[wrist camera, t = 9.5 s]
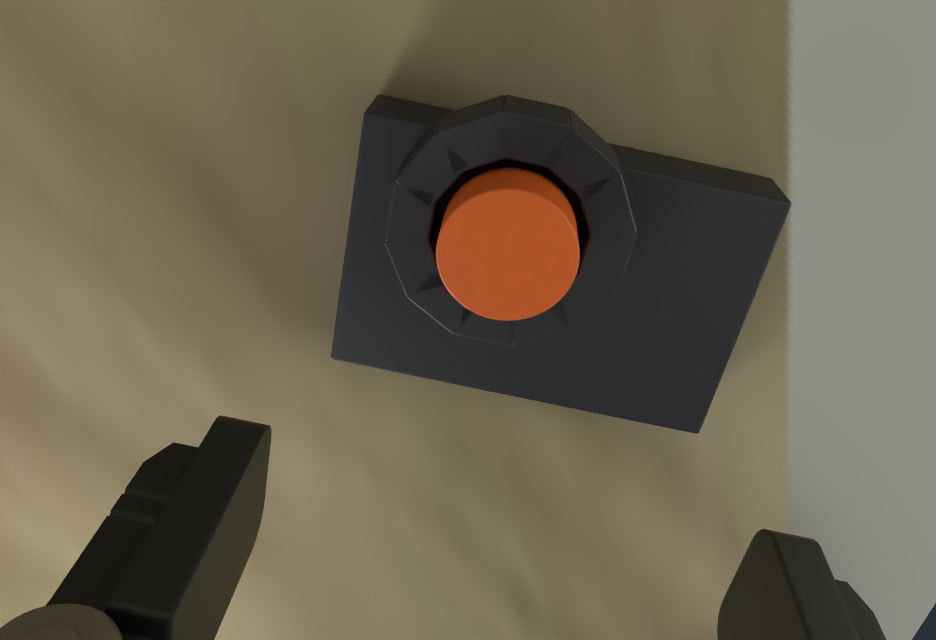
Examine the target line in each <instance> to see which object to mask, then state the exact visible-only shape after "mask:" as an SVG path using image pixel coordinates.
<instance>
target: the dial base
mask: <svg viewBox="0 0 936 640" xmlns="http://www.w3.org/2000/svg"><path fill="white" fill-rule="evenodd" d="M912 640H936V604H935V605H934V607H933V608H932V610H931V612H930V613H929V614H928V616H927V618H926V619H925V621H924V622H923V624H922V625H921V627H920V628H919V630H918V631H917V633H916V634H915V636H914V638H913V639H912Z"/></svg>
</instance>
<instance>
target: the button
mask: <svg viewBox="0 0 936 640" xmlns="http://www.w3.org/2000/svg"><path fill="white" fill-rule="evenodd" d="M579 259H580V250H579V240H578V232H577V224H576V219H575V214H574V211H573V209H572V206H571V204H570V202H569V201H568V199H567V197H566V196H565V195H564V193H563V192H562V191H561V190H560V189H559V188H558V187H557V186H556V185H555V184H554V183H553V182H551V181H550V180H549V179H547V178H545V177H544V176H542V175H540V174H537V173H535V172H533V171H529V170H526V169H520V168H498V169H493V170H489V171H486V172H483V173H481V174H479V175H477V176H475V177H473V178H471V179H470V180H469V181H467V182H466V183H465V184H463V185H462V186H461V187H460V188H459V189H458V190H457V192H456V193H455V194H454V195H453V197H452V199H451V200H450V202H449V204H448V206H447V208H446V211H445V214H444V218H443V222H442V225H441V229H440V233H439V236H438V240H437V246H436V262H437V268H438V271H439V274H440V277H441V279H442V281H443V283H444V285H445V287H446V288H447V290H448V291H449V292H450V294H451V295H452V296H453V297H454V298H455V299H456V300H457V301H458V302H459V303H460V304H461V305H463V306H464V307H466V308H467V309H469V310H470V311H472V312H474V313H476V314H478V315H481V316H483V317H487V318H491V319H496V320H506V321H512V320H521V319H526V318H530V317H533V316H536V315H538V314H540V313H542V312H545V311H546V310H548V309H549V308H551V307H553V306H554V305H555V304H556V303H557V302H559V301H560V300H561V299H562V298H563V296H564V295H565V294H566V293H567V291H568V290H569V289H570V287H571V285H572V283H573V282H574V280H575V277H576V274H577V271H578V267H579Z"/></svg>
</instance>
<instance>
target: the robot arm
mask: <svg viewBox="0 0 936 640" xmlns="http://www.w3.org/2000/svg"><path fill="white" fill-rule="evenodd" d="M270 444H271V427H270V426H269V425H265V424H260V423H255V422H250V421H245V420H240V419H236V418H231V417H226V416H218V417H217V418H216V420H215V421H214V423H213V424H212V426H211V428H210V430H209V431H208V433H207V435H206V436H205V438H204V440H203V441H202V443H201V445H200V446H199V448H198V447H193V446H188V445H183V444H178V443H172V444H170V445H169V446H167V447H166V448H164V449H163V450H161V451H160V452H158V453H157V454H155V455H154V456H152V457H151V458H149V459H148V460H146V461H145V462H143V464H142V465H141V467H140V468H139V470H138V471H137V473H136V474H135V476H134V477H133V479H132V480H131V482H130V483H129V484H128V486H127V487H126V490H125V493H124V494H122V495H121V496H120V498H119V499H118V501H117V502H116V504H115V505H114V507H113V508H112V510H111V513H110V516H107V517H106V518H105V520H104V521H103V523H102V524H101V526H100V527H99V529H98V530H97V532H96V533H95V535H94V536H93V538H92V539H91V541H90V542H89V543H88V545H87V546H86V548H85V549H84V551H83V552H82V554H81V555H80V557H79V558H78V560H77V561H76V563H75V564H74V566H73V567H72V569H71V570H70V572H69V573H68V574H67V576H66V577H65V579H64V580H63V582H62V583H61V585H60V586H59V588H58V589H57V591H56V592H55V594H54V595H53V597H52V598H51V599H50V601H49V602H48V603H47V604H46V606H44V607H40V608H37V609H33V610H31V611H29V612H26V613H24V614H22V615H20V616H18V617H16V618H14V619H13V620H11V621H10V622H8V623H7V624H5V625H4V626H3V627H1V628H0V640H214V638H215V636H216V634H217V631H218V629H219V627H220V624H221V622H222V620H223V617H224V615H225V613H226V610H227V608H228V606H229V603H230V601H231V598H232V596H233V594H234V591H235V589H236V587H237V584H238V582H239V580H240V577H241V575H242V573H243V570H244V568H245V566H246V563H247V561H248V558H249V556H250V554H251V551H252V549H253V546H254V544H255V541H256V538H257V534H258V531H259V527H260V523H261V519H262V514H263V508H264V500H265V491H266V481H267V472H268V463H269V453H270ZM717 634H718V640H886V638H885V636H884V634H883V632H882V630H881V628H880V625H879V623H878V621H877V619H876V617H875V615H874V613H873V612H872V610H871V609H870V608H869V607H868V606H867V605H866V604H865V602H864V601H863V600H862V599H861V598H860V597H859V596H858V595H857V593H856V592H855V591H854V590H853V589H852V587H851V586H850V585H849V584H848V583H847V582H843V581H839V580H835V579H834V577H833V575H832V572H831V570H830V568H829V566H828V564H827V561H826V559H825V556H824V554H823V552H822V549H821V547H820V545H819V544H818V543H817V542H816V541H815V540H813V539H810V538H805V537H800V536H795V535H790V534H786V533H781V532H776V531H771V530H766V529H762V530H760V531H758V532H757V533H756V535H755V536H754V538H753V539H752V541H751V543H750V546H749V548H748V550H747V552H746V554H745V556H744V558H743V560H742V562H741V564H740V566H739V568H738V570H737V572H736V574H735V576H734V578H733V580H732V582H731V585H730V587H729V589H728V591H727V593H726V595H725V597H724V599H723V601H722V604H721V607H720V611H719V617H718V628H717Z"/></svg>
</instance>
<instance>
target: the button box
mask: <svg viewBox="0 0 936 640" xmlns="http://www.w3.org/2000/svg"><path fill="white" fill-rule="evenodd" d="M498 168H520V169H526V170H529V171H533V172H535V173H537V174H540V175H542V176H544V177H545V178H547V179H549V180H550V181H551V182H553V183H554V184H555V185H556V186H557V187H558V188H559V189H560V190H561V191H562V192H563V193H564V195H565V196H566V197H567V199H568V201H569V202H570V204H571V206H572V209H573V211H574V214H575V219H576V224H577V232H578V240H579V250H580V259H579V267H578V271H577V274H576V277H575V280H574V282H573V283H572V285H571V287H570V289H569V290H568V291H567V293H566V294H565V295H564V296H563V298H562V299H561V300H560V301H559V302H557V303H556V304H555V305H554V306H553V307H551V308H549V309H548V310H546V311H545V312H542V313H540V314H538V315H536V316H533V317H530V318H526V319H521V320H512V321H506V320H496V319H491V318H487V317H483V316H481V315H478V314H476V313H474V312H472V311H470V310H469V309H467V308H466V307H464V306H463V305H461V304H460V303H459V302H458V301H457V300H456V299H455V298H454V297H453V296H452V295H451V294H450V292H449V291H448V290H447V288H446V287H445V285H444V283H443V281H442V279H441V277H440V274H439V271H438V268H437V262H436V246H437V240H438V236H439V233H440V229H441V225H442V222H443V218H444V214H445V211H446V208H447V206H448V204H449V202H450V200H451V199H452V197H453V195H454V194H455V193H456V192H457V190H458V189H459V188H460V187H461V186H462V185H463V184H465V183H466V182H467V181H469V180H470V179H471V178H473V177H475V176H477V175H479V174H481V173H483V172H486V171H489V170H493V169H498ZM790 207H791V202H790V201H789V199H788V198H787V197H786V196H785V194H784V193H783V192H782V191H781V189H780V188H779V187H778V186H777V185H776V183H775V182H774V181H773V180H772V179H771V178H767V177H762V176H758V175H753V174H748V173H744V172H739V171H734V170H730V169H725V168H720V167H716V166H711V165H706V164H702V163H697V162H692V161H688V160H683V159H678V158H674V157H669V156H664V155H660V154H655V153H650V152H646V151H641V150H636V149H632V148H627V147H622V146H618V145H613V144H608V143H606V142H605V141H604V140H603V139H602V138H601V137H599V136H598V135H597V134H596V133H595V132H594V131H593V130H592V129H591V128H590V127H589V126H588V125H587V124H586V123H584V122H583V121H582V120H581V119H580V118H579V117H578V116H577V115H576V114H575V113H574V112H573V111H572V110H568V109H567V108H565V107H561V106H556V105H551V104H547V103H542V102H538V101H533V100H528V99H524V98H519V97H514V96H510V95H506V96H503V95H501V96H498V97H495V98H492V99H489V100H486V101H483V102H480V103H477V104H474V105H471V106H468V107H465V108H462V109H459V110H456V111H454V110H450V109H445V108H440V107H436V106H431V105H426V104H422V103H417V102H412V101H408V100H403V99H398V98H394V97H389V96H384V95H377V97H376V98H375V99H374V101H373V102H372V103H371V105H370V106H369V107H368V109H367V110H366V111H365V113H364V117H363V125H362V132H361V139H360V147H359V154H358V161H357V169H356V176H355V184H354V191H353V198H352V206H351V213H350V220H349V228H348V235H347V243H346V250H345V257H344V265H343V272H342V279H341V287H340V294H339V301H338V309H337V316H336V324H335V331H334V338H333V346H332V353H331V357H332V359H335V360H340V361H345V362H350V363H355V364H360V365H364V366H369V367H374V368H379V369H384V370H389V371H394V372H399V373H403V374H408V375H413V376H418V377H423V378H428V379H433V380H438V381H443V382H447V383H452V384H457V385H462V386H467V387H472V388H477V389H482V390H486V391H491V392H496V393H501V394H506V395H511V396H516V397H521V398H526V399H530V400H535V401H540V402H545V403H550V404H555V405H560V406H565V407H569V408H574V409H579V410H584V411H589V412H594V413H599V414H604V415H609V416H613V417H618V418H623V419H628V420H633V421H638V422H643V423H648V424H652V425H657V426H662V427H667V428H672V429H677V430H682V431H687V432H691V433H696V434H697V433H699V431H700V429H701V427H702V424H703V422H704V419H705V417H706V414H707V412H708V409H709V407H710V404H711V402H712V399H713V397H714V394H715V392H716V389H717V387H718V385H719V382H720V380H721V377H722V375H723V372H724V370H725V367H726V365H727V362H728V360H729V357H730V355H731V352H732V350H733V347H734V345H735V343H736V340H737V338H738V335H739V333H740V330H741V328H742V325H743V323H744V320H745V318H746V315H747V313H748V310H749V308H750V305H751V303H752V301H753V298H754V296H755V293H756V291H757V288H758V286H759V283H760V281H761V278H762V276H763V273H764V271H765V268H766V266H767V264H768V261H769V259H770V256H771V254H772V251H773V249H774V246H775V244H776V241H777V239H778V236H779V234H780V231H781V229H782V226H783V224H784V222H785V219H786V217H787V214H788V212H789V209H790Z"/></svg>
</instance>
